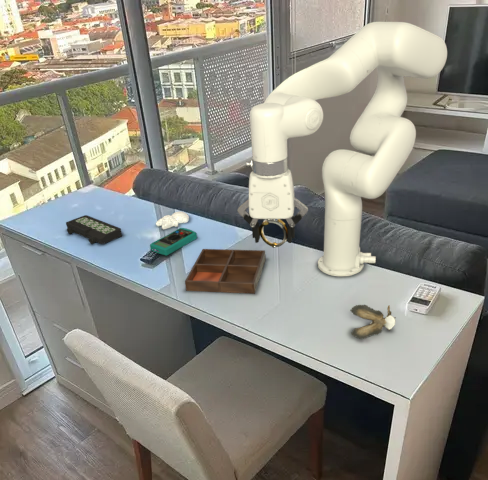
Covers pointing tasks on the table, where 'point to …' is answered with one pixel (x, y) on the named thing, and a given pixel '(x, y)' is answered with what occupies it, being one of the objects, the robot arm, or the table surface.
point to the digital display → (93, 229)
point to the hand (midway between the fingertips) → (273, 239)
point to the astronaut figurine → (173, 220)
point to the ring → (276, 221)
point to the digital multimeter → (173, 241)
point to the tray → (226, 271)
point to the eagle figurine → (376, 319)
